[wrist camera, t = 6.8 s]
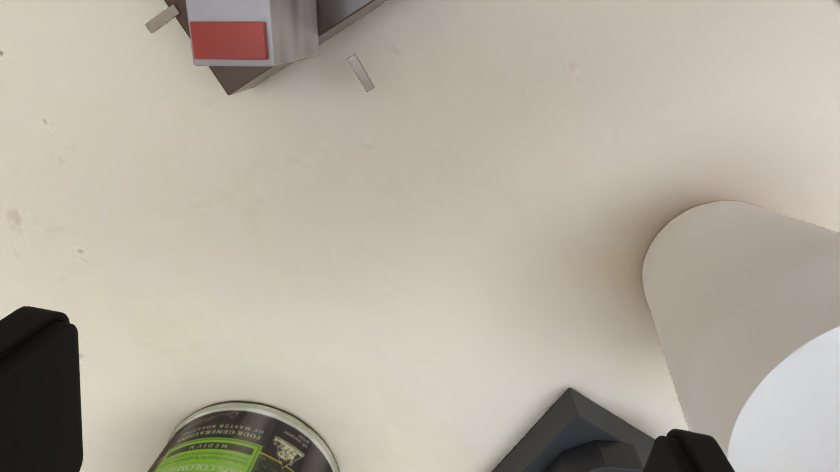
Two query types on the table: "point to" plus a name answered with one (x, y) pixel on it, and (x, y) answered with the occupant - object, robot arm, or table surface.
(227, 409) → the coffee can
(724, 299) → the cup
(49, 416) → the robot arm
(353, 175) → the table surface
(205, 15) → the gray box
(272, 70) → the base
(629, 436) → the button
